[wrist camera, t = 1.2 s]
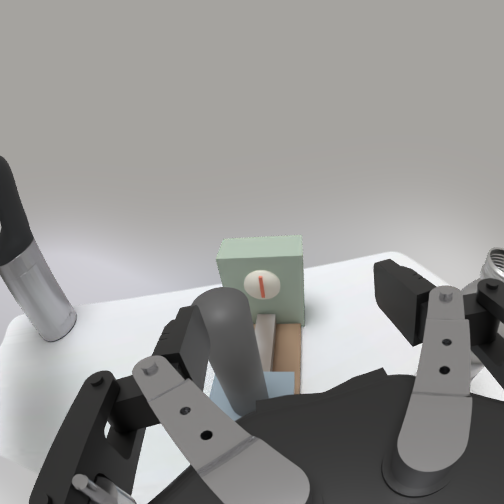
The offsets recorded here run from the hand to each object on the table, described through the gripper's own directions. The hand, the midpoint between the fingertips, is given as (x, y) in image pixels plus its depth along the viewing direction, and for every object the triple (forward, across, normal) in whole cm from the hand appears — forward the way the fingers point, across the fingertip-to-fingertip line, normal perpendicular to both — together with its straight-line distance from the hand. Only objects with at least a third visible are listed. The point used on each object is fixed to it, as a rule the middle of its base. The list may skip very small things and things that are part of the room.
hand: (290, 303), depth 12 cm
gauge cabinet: (+25, +2, +15) cm, 29 cm away
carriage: (+9, +5, +17) cm, 20 cm away
